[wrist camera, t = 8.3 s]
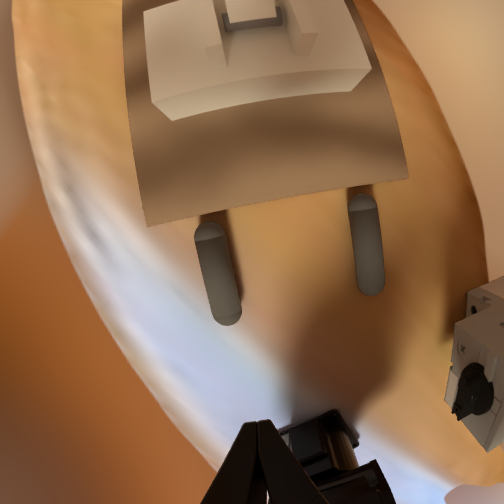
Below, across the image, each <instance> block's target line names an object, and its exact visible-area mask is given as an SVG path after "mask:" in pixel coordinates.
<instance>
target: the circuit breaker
mask: <svg viewBox="0 0 504 504" xmlns="http://www.w3.org/2000/svg"><path fill="white" fill-rule="evenodd" d="M451 362H453V365H452V366H450V370H449V377H448V382H447V388H446V393H445V398H444V400H445V401H446V403H447V404H448V405H449V406H450V407H451V409H452V412H451V413H452V414H454V413H455V414H456V416H457V420H458V421H459V420H461V421H462V422H463V423H464V425H465V426H466V427H467V428H468V429H469V431H470V432H471V433H472V434H473V436H474V437H475V438H476V440H477V441H478V442H479V443H480V445H481V446H482V447H483V448H484V449H485V451H486V452H489V451H491V450H492V449H494V448H495V447H497V446H498V445H500V444H501V443H502V442H504V276H502V277H500V278H498V279H496V280H493V281H491V282H489V283H487V284H484V285H482V286H480V287H477V288H475V289H472V290H470V291H468V292H467V308H466V318H465V319H463V320H460V321H458V322H456V323H455V328H454V339H453V348H452V356H451Z"/></svg>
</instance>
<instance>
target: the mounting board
mask: <svg viewBox="0 0 504 504" xmlns="http://www.w3.org/2000/svg"><path fill="white" fill-rule="evenodd" d="M175 1H179V0H123V4H122V27H123V57H124V73H125V86H126V97H127V107H128V116H129V125H130V133H131V140H132V147H133V154H134V160H135V166H136V172H137V178H138V184H139V189H140V195H141V200H142V205H143V210H144V215H145V220H146V224H147V227H150V226H154V225H158V224H163V223H167V222H171V221H176V220H180V219H184V218H189V217H193V216H198V215H202V214H207V213H212V212H216V211H221V210H226V209H231V208H236V207H240V206H245V205H250V204H256V203H261V202H266V201H271V200H277V199H282V198H288V197H293V196H299V195H304V194H310V193H316V192H322V191H328V190H334V189H341V188H347V187H354V186H360V185H367V184H374V183H381V182H389V181H396V180H404V179H409V175H408V169H407V164H406V159H405V154H404V149H403V144H402V140H401V136H400V131H399V127H398V123H397V120H396V116H395V112H394V108H393V105H392V101H391V98H390V95H389V91H388V88H387V85H386V82H385V79H384V76H383V73H382V70H381V67H380V64H379V61H378V59H377V56H376V53H375V51H374V48H373V46H372V43H371V41H370V38H369V36H368V33H367V31H366V29H365V26H364V24H363V22H362V19H361V17H360V15H359V13H358V11H357V9H356V7H355V5H354V3H353V0H344V2H345V4H346V6H347V8H348V10H349V12H350V15H351V17H352V19H353V21H354V24H355V26H356V28H357V31H358V33H359V36H360V38H361V41H362V43H363V46H364V48H365V51H366V54H367V56H368V59H369V62H370V65H371V68H372V69H371V70H370V71H369V72H368V73H367V74H366V76H365V77H364V78H363V79H362V80H361V81H360V82H359V83H358V84H357V85H356V86H355V87H354V88H353V89H352V91H348V92H332V93H320V94H309V95H300V96H292V97H284V98H277V99H270V100H264V101H258V102H252V103H247V104H241V105H236V106H231V107H226V108H222V109H217V110H213V111H208V112H204V113H200V114H196V115H192V116H188V117H184V118H181V119H177V120H174V121H171V120H170V119H169V118H168V117H167V116H166V115H165V114H164V113H163V112H162V111H161V110H159V109H158V108H157V107H156V106H155V105H154V104H153V103H152V101H151V93H150V84H149V75H148V66H147V56H146V44H145V31H144V15H143V12H144V11H146V10H149V9H152V8H155V7H159V6H162V5H165V4H168V3H172V2H175Z"/></svg>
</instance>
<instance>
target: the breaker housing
mask: <svg viewBox="0 0 504 504" xmlns="http://www.w3.org/2000/svg"><path fill="white" fill-rule="evenodd" d="M274 2H275V6H279V7H280V9H281V12H282V17H283V23H282V25H276V26H267V27H259V28H251V29H245V30H238V31H233V32H227V33H225V29H224V24H223V20H222V15H221V14H222V13H227V12H226V7H225V2H224V0H179V1H175V2H172V3H168V4H165V5H162V6H159V7H155V8H152V9H149V10H146V11H144V12H143V15H144V31H145V44H146V56H147V66H148V75H149V84H150V93H151V101H152V103H153V104H154V105H155V106H156V107H157V108H158V109H159V110H161V111H162V112H163V113H164V114H165V115H166V116H167V117H168V118H169V119H170V120H171V121H174V120H177V119H181V118H184V117H188V116H192V115H196V114H200V113H204V112H208V111H213V110H217V109H222V108H226V107H231V106H236V105H241V104H247V103H252V102H258V101H264V100H270V99H277V98H284V97H292V96H300V95H309V94H320V93H332V92H348V91H352V89H353V88H354V87H355V86H356V85H357V84H358V83H359V82H360V81H361V80H362V79H363V78H364V77H365V76H366V74H367V73H368V72H369V71H370V70H371V69H372V68H371V65H370V62H369V59H368V56H367V54H366V51H365V48H364V46H363V43H362V41H361V38H360V36H359V33H358V31H357V28H356V26H355V24H354V21H353V19H352V17H351V15H350V12H349V10H348V8H347V6H346V4H345V2H344V0H274Z"/></svg>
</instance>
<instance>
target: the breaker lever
mask: <svg viewBox="0 0 504 504" xmlns="http://www.w3.org/2000/svg"><path fill="white" fill-rule="evenodd" d="M224 2H225V7H226V12H227V13H222V14H221V15H222V20H223V24H224V29H225V33H227V32H233V31H238V30H245V29H251V28H259V27H267V26H276V25H282V23H283V17H282V12H281V9H280V7H279V6H275V2H274V0H224Z"/></svg>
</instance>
